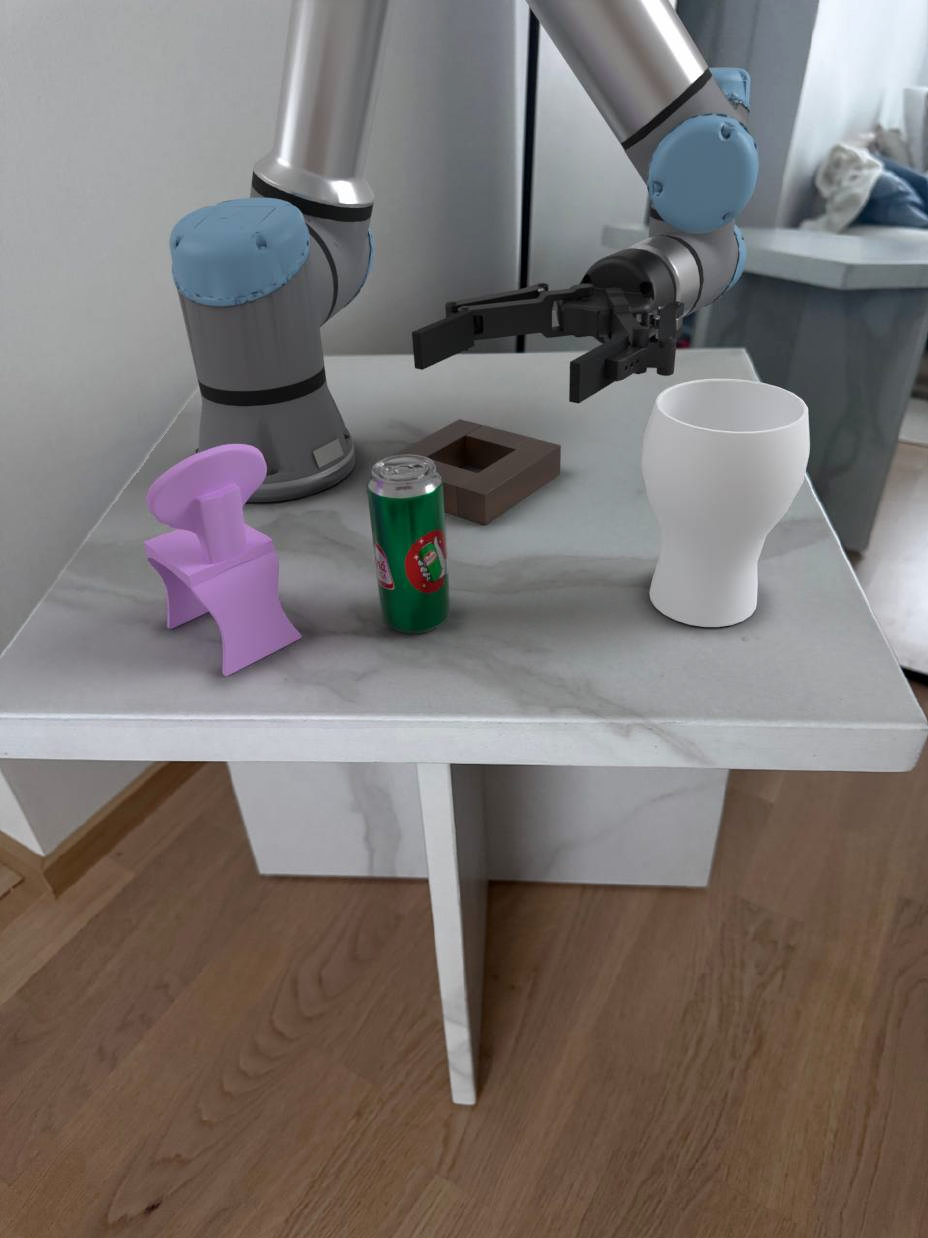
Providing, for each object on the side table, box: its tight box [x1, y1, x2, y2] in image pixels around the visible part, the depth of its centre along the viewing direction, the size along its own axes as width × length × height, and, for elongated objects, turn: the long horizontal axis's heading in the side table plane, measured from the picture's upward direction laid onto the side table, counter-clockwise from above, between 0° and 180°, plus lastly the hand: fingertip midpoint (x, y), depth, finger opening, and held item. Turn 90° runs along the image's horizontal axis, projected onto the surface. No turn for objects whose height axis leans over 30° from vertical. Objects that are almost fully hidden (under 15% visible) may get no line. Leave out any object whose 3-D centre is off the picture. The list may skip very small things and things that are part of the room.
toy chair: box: [142, 444, 303, 677], centre depth 59 cm, size 8×9×15 cm
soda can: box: [366, 454, 451, 635], centre depth 60 cm, size 5×5×12 cm
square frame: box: [388, 418, 562, 526], centre depth 80 cm, size 12×12×3 cm
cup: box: [640, 378, 811, 628], centre depth 60 cm, size 11×11×15 cm
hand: (490, 366), depth 60 cm, fingers open, 13 cm apart
